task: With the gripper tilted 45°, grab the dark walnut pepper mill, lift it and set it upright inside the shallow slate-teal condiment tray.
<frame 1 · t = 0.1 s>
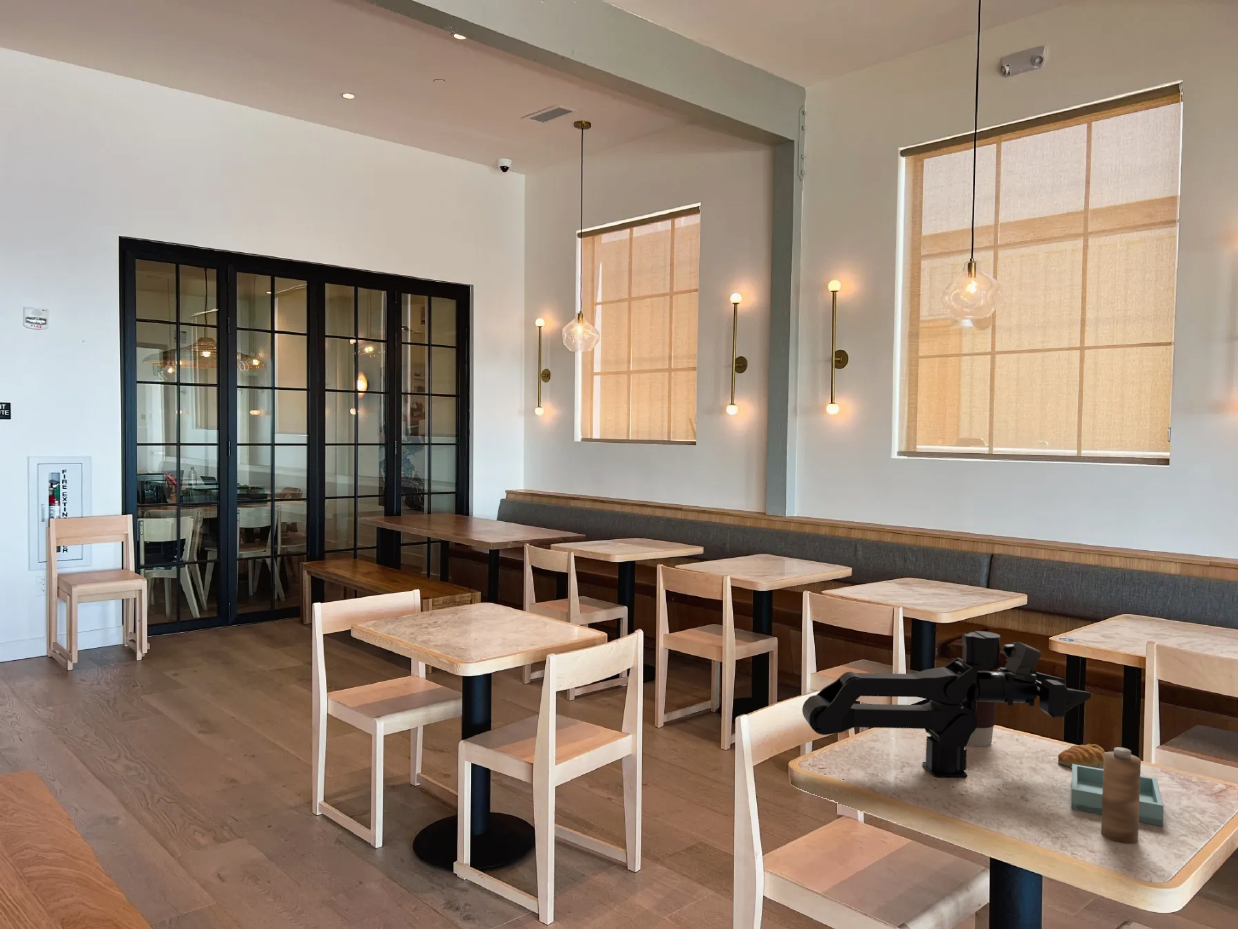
hand: (1077, 688, 168), 17 cm above the table, tool horizontal, fingers open, 9 cm apart
pastry: (1083, 766, 173), on the table
condiment tray: (1114, 803, 154), on the table
pepper mill: (1119, 836, 141), on the table
coffee cup: (973, 742, 185), on the table
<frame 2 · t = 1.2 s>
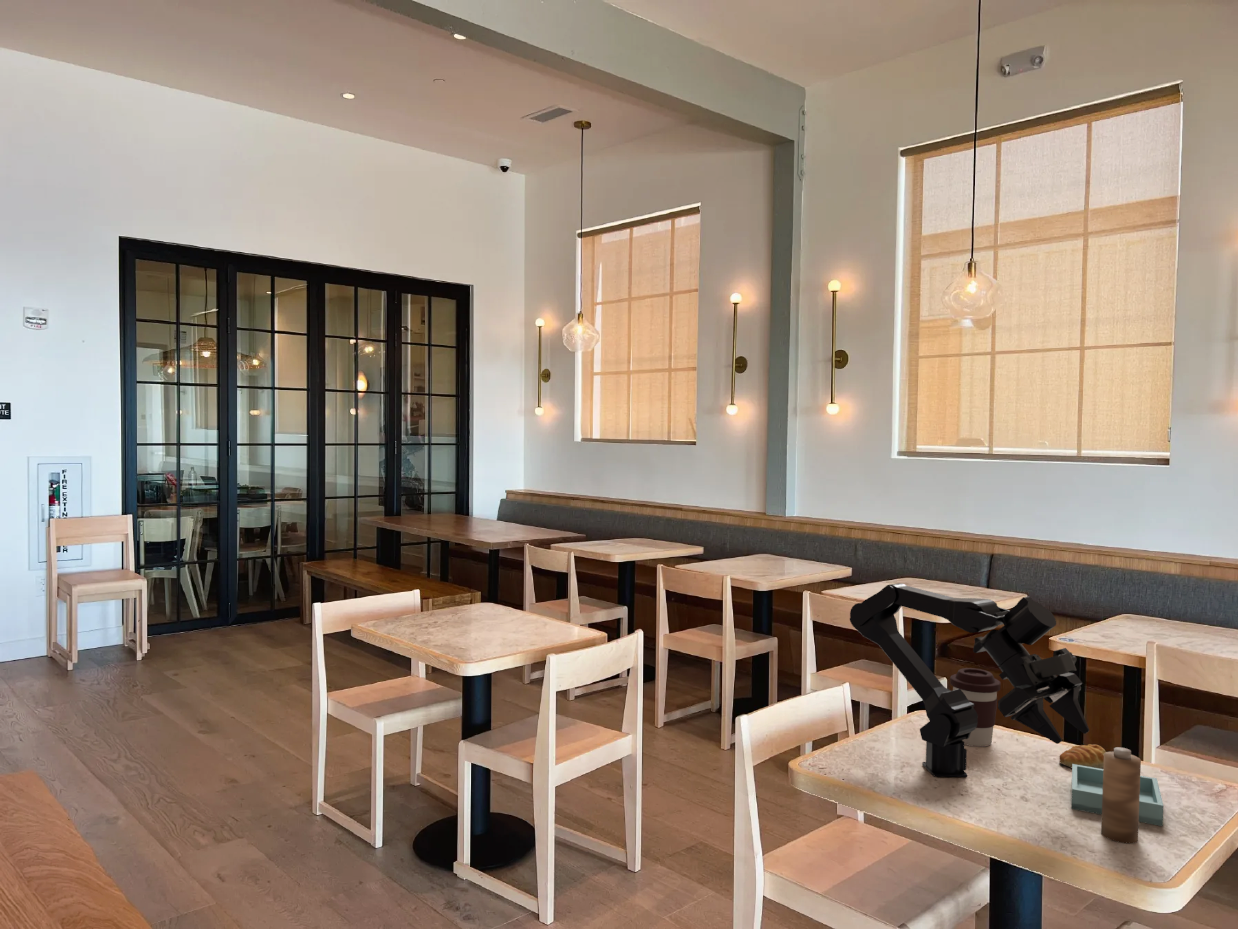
hand: (1073, 737, 148), 14 cm above the table, tool tilted 45°, fingers open, 9 cm apart
nothing on the table moved.
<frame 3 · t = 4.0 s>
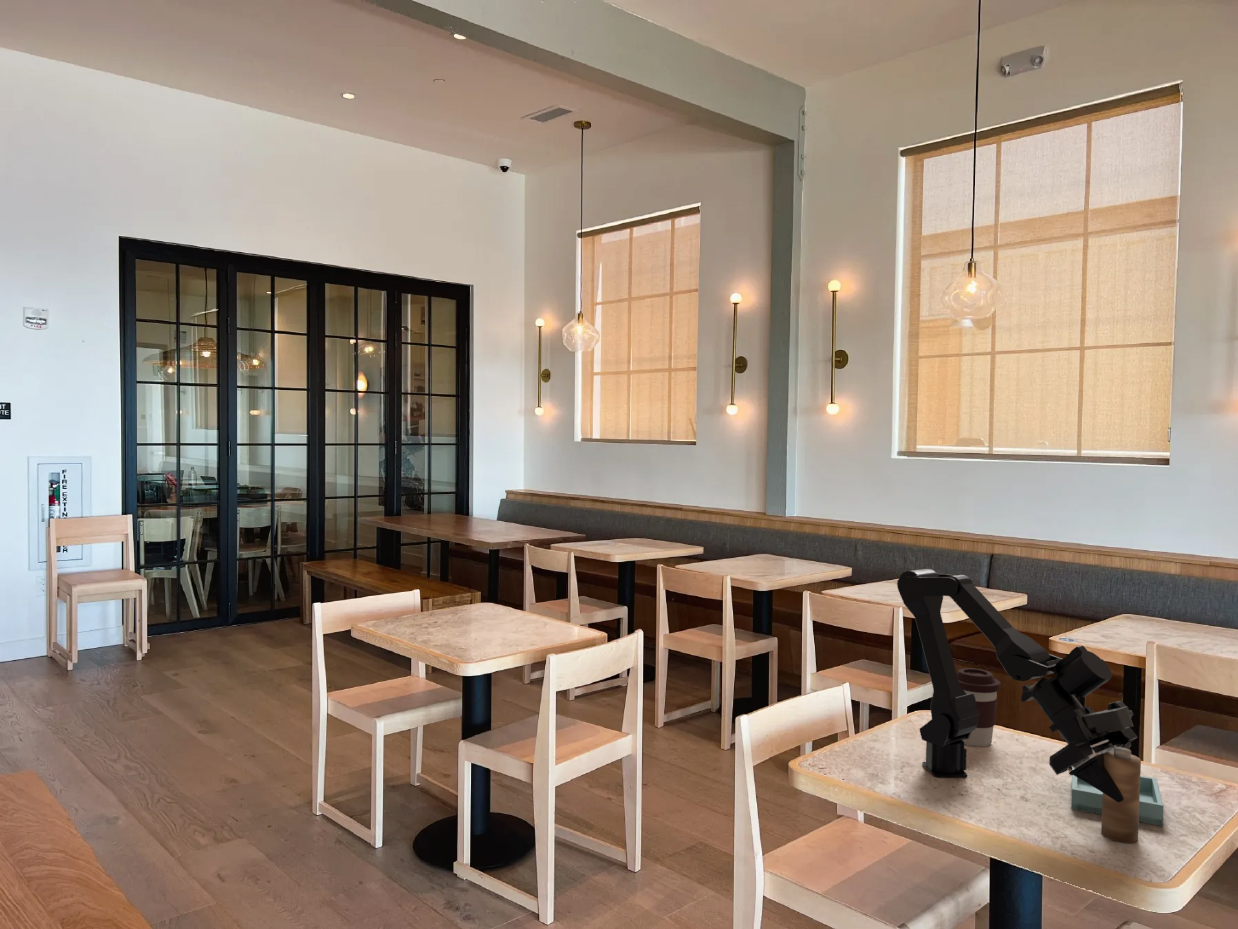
hand: (1130, 797, 140), 7 cm above the table, tool tilted 45°, fingers closed on pepper mill, 5 cm apart
pepper mill: (1119, 836, 141), on the table, touching gripper
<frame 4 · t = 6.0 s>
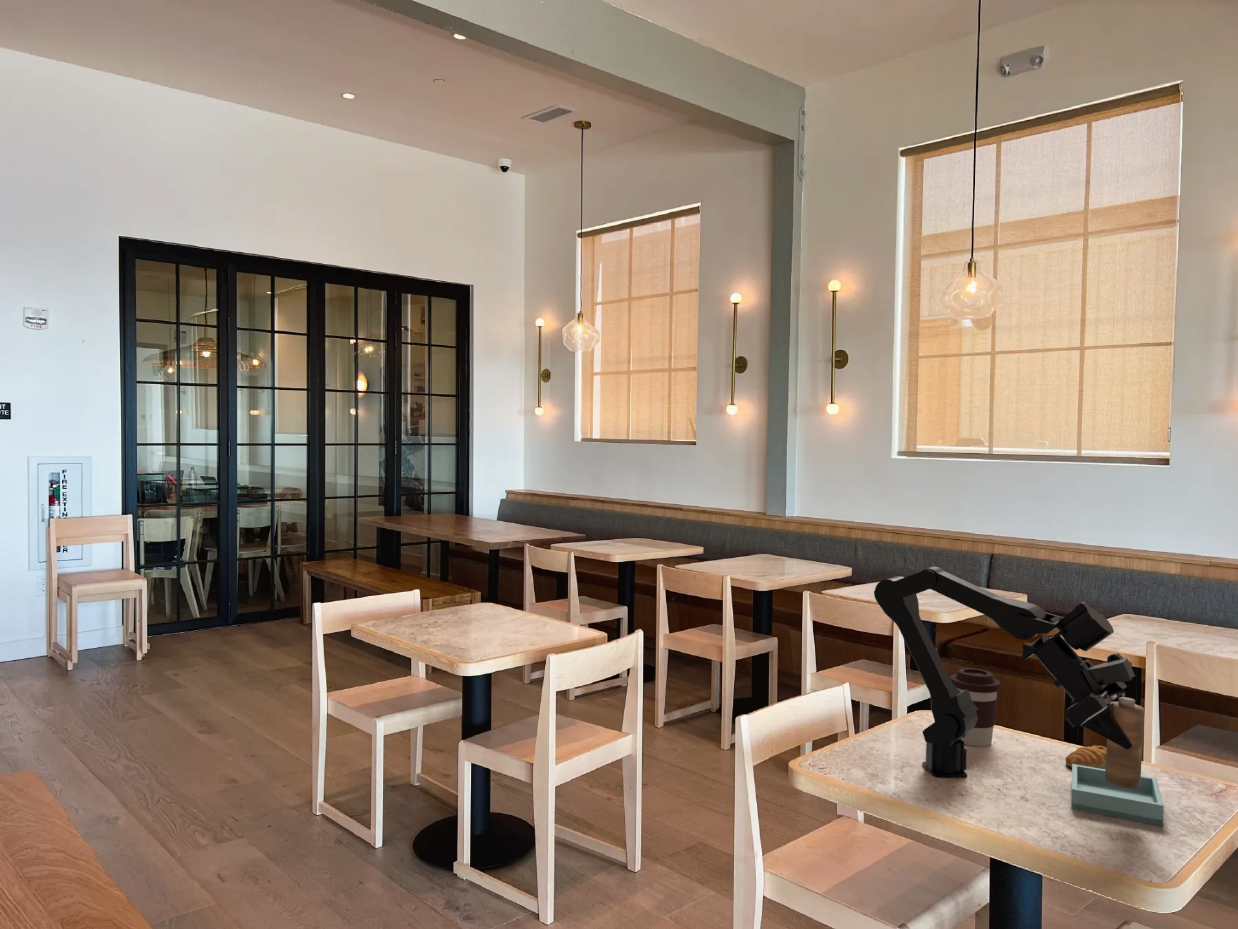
hand: (1133, 743, 147), 13 cm above the table, tool tilted 45°, fingers closed on pepper mill, 5 cm apart
pepper mill: (1122, 781, 148), point 6 cm above the table, touching gripper
when the fingers open (9 cm above the table, at t = 7.9 s): pepper mill drops 1 cm, resting on condiment tray.
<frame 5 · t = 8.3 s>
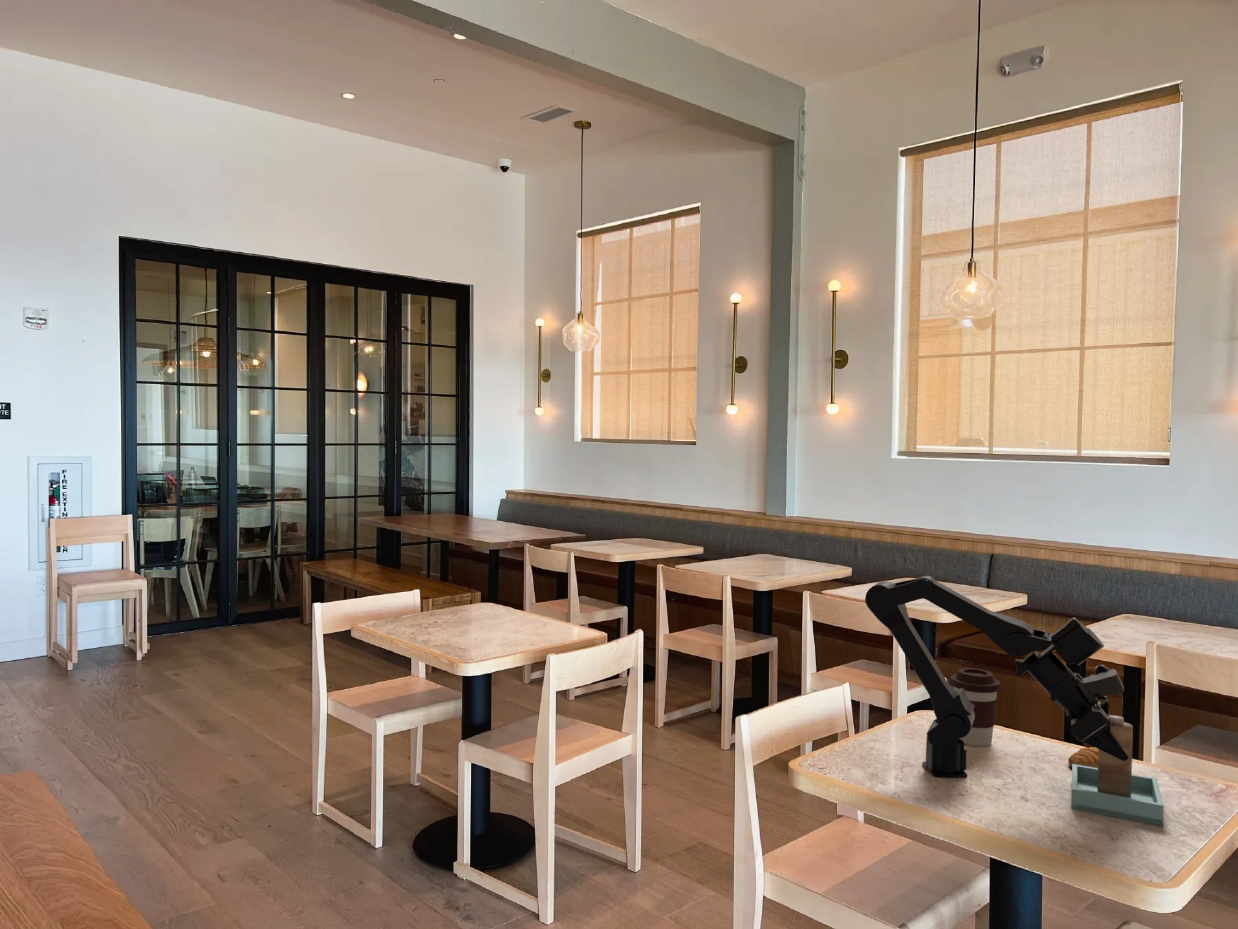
hand: (1125, 751, 153), 10 cm above the table, tool tilted 45°, fingers open, 9 cm apart
pepper mill: (1113, 797, 154), point 1 cm above the table, touching condiment tray
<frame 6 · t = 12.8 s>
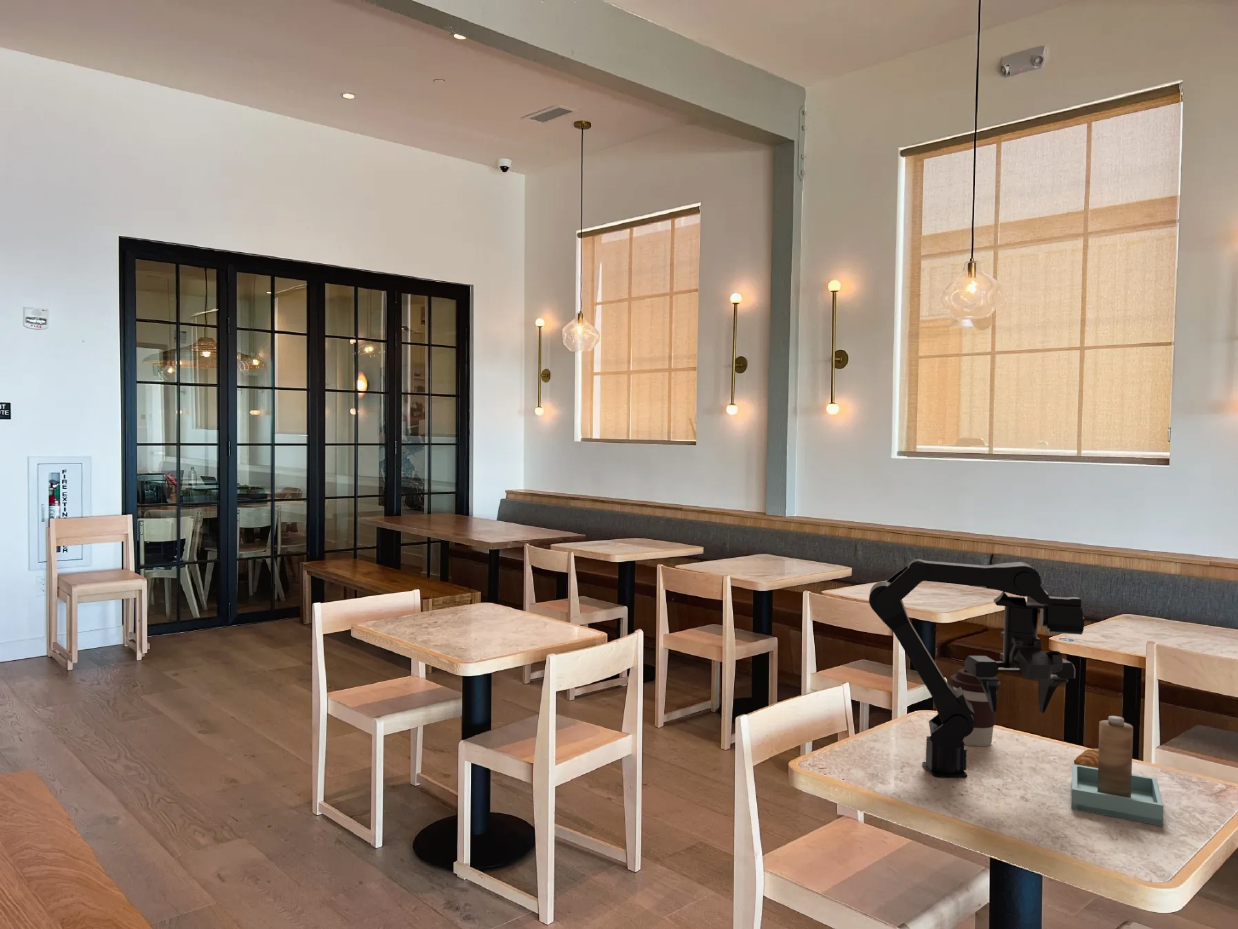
hand: (1017, 712, 164), 13 cm above the table, tool pointing down, fingers open, 9 cm apart
at the end: pepper mill inside the target area on the condiment tray (0.1 cm from its centre), point 1.0 cm above the condiment tray's base; pepper mill tilted 1°; the gripper is holding nothing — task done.
